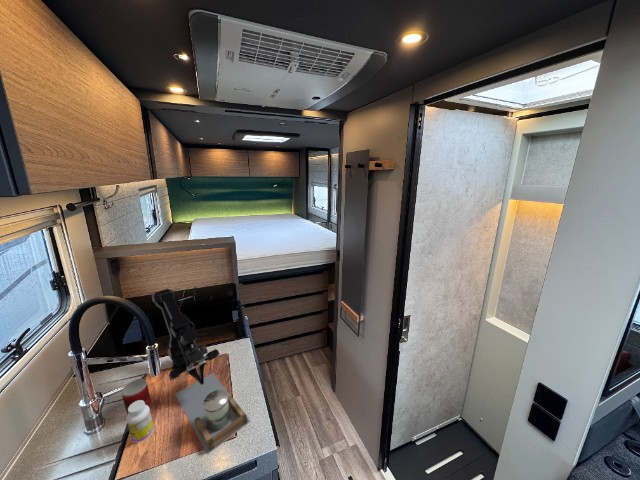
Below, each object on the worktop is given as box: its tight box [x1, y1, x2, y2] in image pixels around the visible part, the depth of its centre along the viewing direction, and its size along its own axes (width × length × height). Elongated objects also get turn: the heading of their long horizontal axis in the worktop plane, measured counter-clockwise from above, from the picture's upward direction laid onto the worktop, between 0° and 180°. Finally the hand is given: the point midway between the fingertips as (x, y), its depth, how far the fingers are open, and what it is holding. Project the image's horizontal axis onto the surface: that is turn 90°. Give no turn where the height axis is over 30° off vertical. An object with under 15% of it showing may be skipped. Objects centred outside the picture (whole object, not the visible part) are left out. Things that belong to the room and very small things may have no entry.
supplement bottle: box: [125, 400, 155, 444], centre depth 88 cm, size 7×7×13 cm
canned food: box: [121, 378, 152, 416], centre depth 98 cm, size 8×8×11 cm
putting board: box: [174, 372, 252, 455], centre depth 99 cm, size 34×16×1 cm, turn 46°
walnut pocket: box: [195, 395, 248, 451], centre depth 92 cm, size 12×14×3 cm
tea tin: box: [203, 390, 230, 431], centre depth 92 cm, size 8×8×10 cm
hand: (202, 384), depth 101 cm, fingers closed
